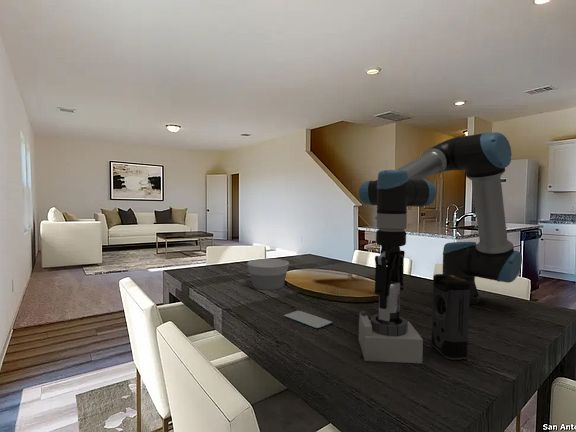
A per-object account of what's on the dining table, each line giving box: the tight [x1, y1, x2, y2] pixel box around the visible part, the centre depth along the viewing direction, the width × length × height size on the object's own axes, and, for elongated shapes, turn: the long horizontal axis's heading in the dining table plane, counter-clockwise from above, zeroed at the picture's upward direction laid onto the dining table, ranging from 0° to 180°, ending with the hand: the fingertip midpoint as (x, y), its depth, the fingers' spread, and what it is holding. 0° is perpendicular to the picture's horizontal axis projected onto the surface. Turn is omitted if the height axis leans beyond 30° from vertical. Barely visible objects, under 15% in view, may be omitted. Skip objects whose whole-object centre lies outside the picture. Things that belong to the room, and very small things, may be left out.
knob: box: [379, 280, 401, 325], centre depth 88 cm, size 5×5×12 cm
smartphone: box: [283, 310, 333, 331], centre depth 111 cm, size 8×1×16 cm
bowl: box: [246, 258, 290, 291], centre depth 152 cm, size 19×19×11 cm
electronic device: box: [430, 273, 470, 361], centre depth 88 cm, size 9×6×20 cm, turn 5°
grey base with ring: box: [358, 310, 424, 364], centre depth 89 cm, size 14×12×9 cm
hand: (389, 316), depth 88 cm, fingers closed on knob, 5 cm apart
